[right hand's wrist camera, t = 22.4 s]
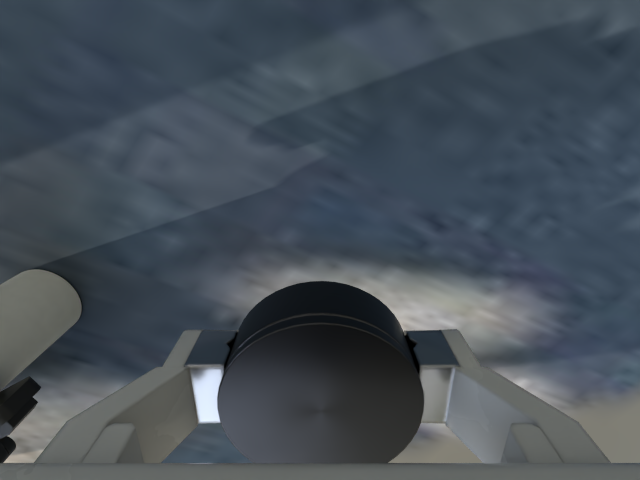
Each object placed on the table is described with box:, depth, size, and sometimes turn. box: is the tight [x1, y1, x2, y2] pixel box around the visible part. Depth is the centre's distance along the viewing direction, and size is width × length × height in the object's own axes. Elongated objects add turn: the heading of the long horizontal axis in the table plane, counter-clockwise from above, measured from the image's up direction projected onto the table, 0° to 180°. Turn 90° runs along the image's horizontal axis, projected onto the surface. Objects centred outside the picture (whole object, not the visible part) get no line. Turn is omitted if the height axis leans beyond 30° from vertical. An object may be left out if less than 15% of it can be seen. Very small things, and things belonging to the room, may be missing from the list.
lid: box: [217, 281, 424, 463], centre depth 9 cm, size 5×5×2 cm
